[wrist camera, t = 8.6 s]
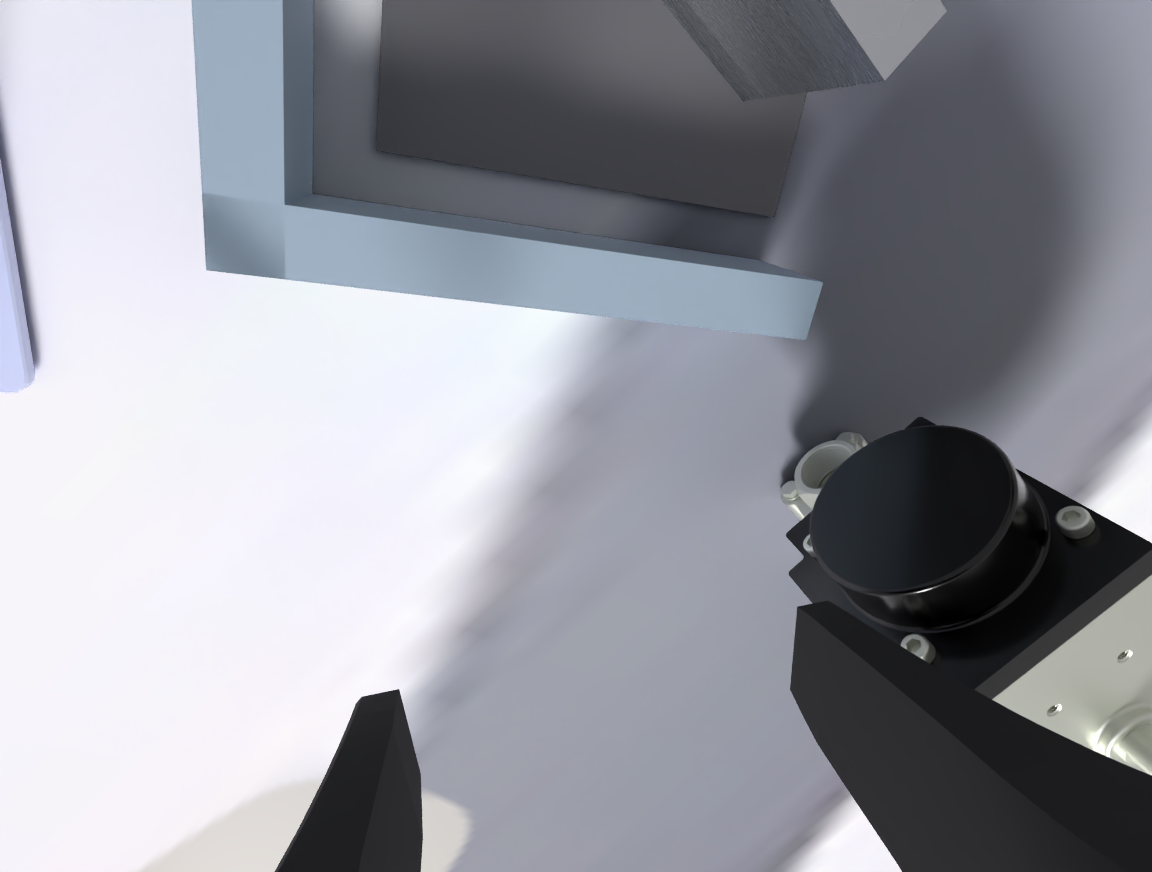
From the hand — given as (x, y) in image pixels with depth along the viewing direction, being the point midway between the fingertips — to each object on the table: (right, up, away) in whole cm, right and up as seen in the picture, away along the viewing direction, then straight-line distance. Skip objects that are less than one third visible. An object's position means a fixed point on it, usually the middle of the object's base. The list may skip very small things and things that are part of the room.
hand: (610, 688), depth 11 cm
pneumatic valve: (+8, +2, +12) cm, 15 cm away
